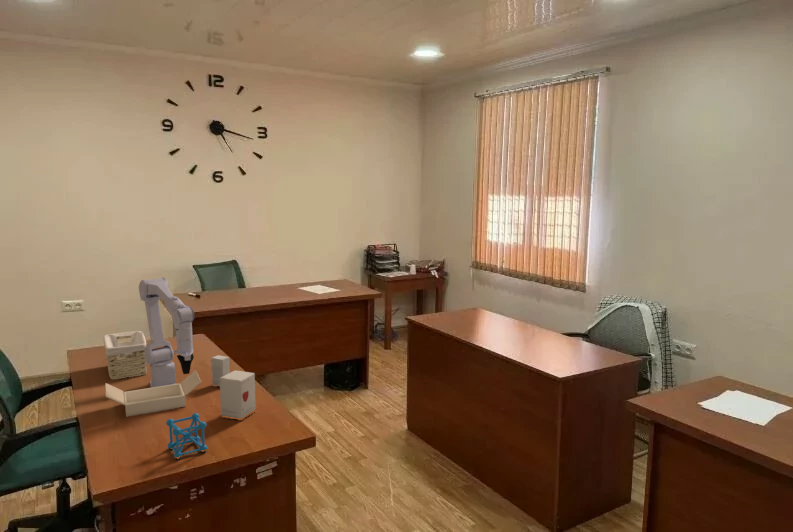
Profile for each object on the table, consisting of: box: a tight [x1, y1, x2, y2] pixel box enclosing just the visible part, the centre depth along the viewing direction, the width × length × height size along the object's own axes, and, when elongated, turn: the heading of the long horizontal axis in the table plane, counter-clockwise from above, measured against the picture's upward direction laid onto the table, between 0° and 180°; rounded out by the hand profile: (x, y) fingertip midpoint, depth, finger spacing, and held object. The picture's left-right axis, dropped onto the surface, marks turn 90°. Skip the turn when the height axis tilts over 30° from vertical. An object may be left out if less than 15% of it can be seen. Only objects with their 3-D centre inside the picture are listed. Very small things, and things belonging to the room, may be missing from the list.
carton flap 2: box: [180, 370, 202, 396], centre depth 215 cm, size 7×14×1 cm
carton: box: [123, 382, 187, 418], centre depth 209 cm, size 20×14×4 cm
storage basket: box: [103, 330, 147, 381], centre depth 246 cm, size 24×16×15 cm
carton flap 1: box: [104, 382, 125, 406], centre depth 203 cm, size 7×14×1 cm
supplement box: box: [219, 370, 256, 418], centre depth 200 cm, size 9×9×15 cm
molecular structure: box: [166, 412, 208, 458], centre depth 174 cm, size 10×10×10 cm
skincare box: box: [210, 354, 231, 387], centre depth 229 cm, size 6×4×12 cm
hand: (186, 373), depth 214 cm, fingers closed
